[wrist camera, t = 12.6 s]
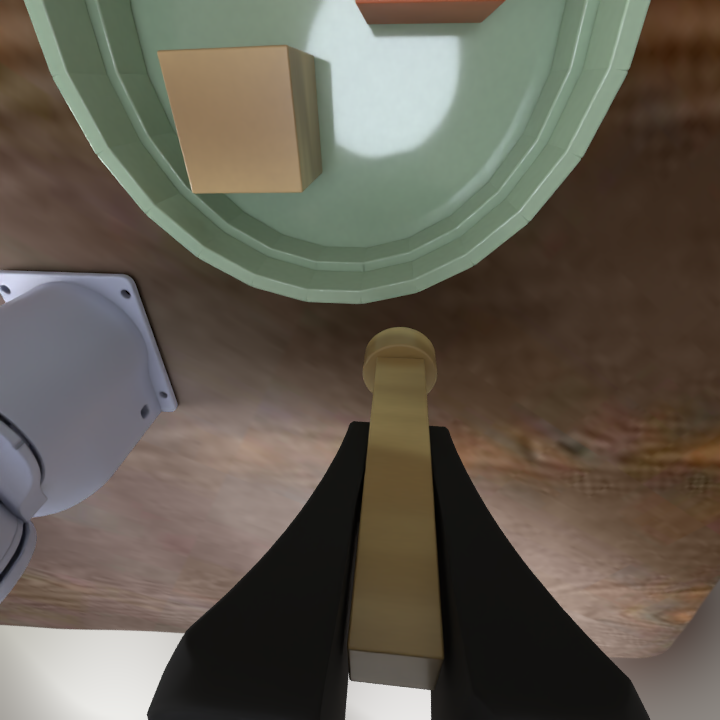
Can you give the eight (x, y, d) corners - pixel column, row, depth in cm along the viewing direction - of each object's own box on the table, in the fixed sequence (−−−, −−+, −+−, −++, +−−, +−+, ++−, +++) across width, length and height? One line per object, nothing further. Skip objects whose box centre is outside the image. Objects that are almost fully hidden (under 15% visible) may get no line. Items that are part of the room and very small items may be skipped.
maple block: (322, 173, 17) (303, 193, 13) (232, 174, 17) (191, 194, 14) (314, 55, 14) (287, 44, 11) (210, 59, 15) (155, 50, 12)
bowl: (525, 267, 19) (555, 312, 15) (182, 257, 20) (131, 296, 16) (697, -441, 9) (906, -819, 5) (13, -367, 10) (-207, -626, 7)
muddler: (431, 385, 15) (458, 702, 7) (365, 381, 15) (324, 687, 8) (438, 327, 14) (482, 650, 6) (365, 324, 14) (313, 633, 6)
